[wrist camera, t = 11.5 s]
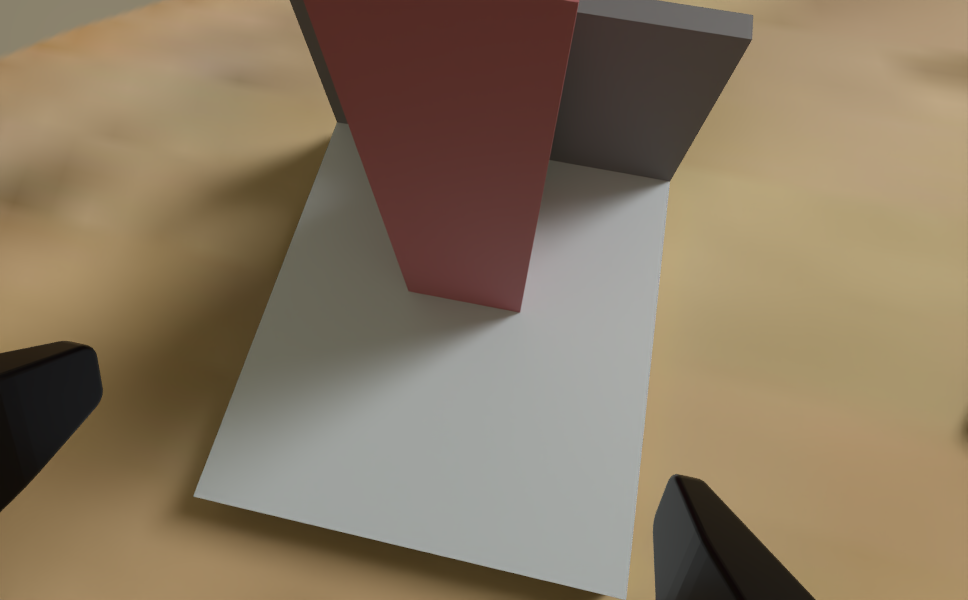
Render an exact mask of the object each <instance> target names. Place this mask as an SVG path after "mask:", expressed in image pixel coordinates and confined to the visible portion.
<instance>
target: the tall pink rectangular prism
mask: <svg viewBox="0 0 968 600" xmlns="http://www.w3.org/2000/svg"><path fill="white" fill-rule="evenodd" d="M303 1H304V4H305V6H306V9H307V12H308V15H309V17H310V20H311V23H312V26H313V28H314V31H315V34H316V37H317V40H318V42H319V45H320V48H321V51H322V53H323V56H324V59H325V62H326V64H327V67H328V70H329V73H330V75H331V78H332V81H333V84H334V87H335V89H336V92H337V95H338V98H339V100H340V103H341V106H342V109H343V111H344V114H345V117H346V120H347V122H348V125H349V128H350V131H351V134H352V136H353V139H354V142H355V145H356V147H357V150H358V153H359V156H360V158H361V161H362V164H363V167H364V170H365V172H366V175H367V178H368V181H369V183H370V186H371V189H372V192H373V194H374V197H375V200H376V203H377V205H378V208H379V211H380V214H381V217H382V219H383V222H384V225H385V228H386V230H387V233H388V236H389V239H390V241H391V244H392V247H393V250H394V252H395V255H396V258H397V261H398V264H399V266H400V269H401V272H402V275H403V277H404V280H405V283H406V286H407V288H408V291H410V292H415V293H420V294H425V295H431V296H436V297H441V298H446V299H451V300H457V301H462V302H467V303H472V304H478V305H483V306H488V307H493V308H499V309H504V310H509V311H514V312H519V313H520V310H521V305H522V300H523V295H524V289H525V284H526V279H527V274H528V268H529V263H530V258H531V253H532V247H533V242H534V237H535V232H536V227H537V221H538V216H539V211H540V206H541V200H542V195H543V190H544V185H545V179H546V174H547V169H548V163H549V158H550V153H551V148H552V142H553V137H554V132H555V126H556V121H557V116H558V111H559V105H560V100H561V95H562V89H563V84H564V79H565V74H566V68H567V63H568V58H569V52H570V47H571V42H572V37H573V31H574V26H575V21H576V15H577V10H578V5H579V0H303Z"/></svg>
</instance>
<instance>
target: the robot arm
mask: <svg viewBox="0 0 968 600" xmlns="http://www.w3.org/2000/svg"><path fill="white" fill-rule="evenodd" d="M102 393H103V387H102V381H101V376H100V370H99V364H98V359H97V354H96V352H95V351H94V349H93V348H92V347H90V346H88V345H84V344H79V343H75V342H70V341H59V342H54V343H49V344H44V345H39V346H34V347H30V348H25V349H20V350H15V351H10V352H5V353H0V512H1V511H2V510H3V509H4V508H5V507H6V506H7V505H8V504H9V503H10V502H11V501H12V500H13V499H14V498H15V497H16V496H17V495H18V494H19V493H20V492H21V491H22V490H23V489H24V488H25V487H26V486H27V485H28V484H29V483H30V482H31V481H32V480H33V479H34V477H35V476H36V475H37V474H38V473H39V472H40V471H41V470H42V468H43V467H44V466H45V465H46V464H47V463H48V462H49V460H50V459H51V458H52V457H53V456H54V455H55V454H56V452H57V451H58V450H59V449H60V448H61V447H62V446H63V444H64V443H65V442H66V441H67V440H68V439H69V438H70V436H71V435H72V434H73V433H74V432H75V431H76V430H77V428H78V427H79V426H80V425H81V424H82V423H83V422H84V420H85V419H86V418H87V417H88V416H89V415H90V414H91V412H92V411H93V410H94V409H95V408H96V407H97V405H98V404H99V402H100V400H101V397H102ZM653 544H654V568H655V592H656V600H815V599H814V597H813V596H812V595H811V594H810V593H809V592H808V591H807V590H806V589H805V588H804V587H803V586H802V585H801V584H800V583H799V582H798V580H797V579H796V578H795V577H794V576H793V575H792V574H791V573H790V572H789V571H788V570H787V569H786V568H785V567H784V566H783V565H782V564H781V562H780V561H779V560H778V559H777V558H776V557H775V556H774V555H773V554H772V553H771V552H770V551H769V550H768V549H767V548H766V547H765V546H764V544H763V543H762V542H761V541H760V540H759V539H758V538H757V537H756V536H755V535H754V534H753V533H752V532H751V531H750V530H749V529H748V527H747V526H746V525H745V524H744V523H743V522H742V521H741V520H740V519H739V518H738V517H737V516H736V515H735V514H734V513H733V512H732V511H731V509H730V508H729V507H728V506H727V505H726V504H725V503H724V502H723V501H722V500H721V499H720V498H719V497H718V496H717V495H716V494H715V493H714V491H713V490H712V489H711V488H710V487H709V486H708V485H707V484H706V483H705V482H704V481H702V480H700V479H697V478H693V477H688V476H684V475H679V474H675V475H673V476H671V478H670V479H669V481H668V483H667V485H666V488H665V491H664V493H663V496H662V499H661V501H660V504H659V506H658V509H657V512H656V514H655V518H654V524H653Z"/></svg>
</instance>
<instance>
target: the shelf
mask: <svg viewBox="0 0 968 600" xmlns="http://www.w3.org/2000/svg"><path fill="white" fill-rule="evenodd" d="M290 2H291V5H292V7H293V10H294V12H295V15H296V18H297V20H298V23H299V25H300V28H301V30H302V33H303V36H304V38H305V41H306V43H307V46H308V48H309V51H310V54H311V56H312V59H313V61H314V64H315V66H316V69H317V72H318V74H319V77H320V79H321V82H322V84H323V87H324V90H325V92H326V95H327V97H328V100H329V102H330V105H331V108H332V110H333V113H334V115H335V118H336V121H337V124H336V127H335V129H334V132H333V134H332V137H331V140H330V142H329V145H328V147H327V150H326V153H325V155H324V158H323V160H322V163H321V166H320V168H319V171H318V173H317V176H316V179H315V181H314V184H313V186H312V189H311V192H310V194H309V197H308V199H307V202H306V205H305V207H304V210H303V212H302V215H301V218H300V220H299V223H298V225H297V228H296V230H295V233H294V236H293V238H292V241H291V243H290V246H289V249H288V251H287V254H286V256H285V259H284V262H283V264H282V267H281V269H280V272H279V275H278V277H277V280H276V282H275V285H274V288H273V290H272V293H271V295H270V298H269V301H268V303H267V306H266V308H265V311H264V314H263V316H262V319H261V321H260V324H259V327H258V329H257V332H256V334H255V337H254V340H253V342H252V345H251V347H250V350H249V353H248V355H247V358H246V360H245V363H244V366H243V368H242V371H241V373H240V376H239V379H238V381H237V384H236V386H235V389H234V392H233V394H232V397H231V399H230V402H229V405H228V407H227V410H226V412H225V415H224V418H223V420H222V423H221V425H220V428H219V431H218V433H217V436H216V438H215V441H214V444H213V446H212V449H211V451H210V454H209V457H208V459H207V462H206V464H205V467H204V470H203V472H202V475H201V477H200V480H199V483H198V485H197V488H196V490H195V493H194V496H193V497H197V498H201V499H206V500H210V501H214V502H218V503H222V504H227V505H231V506H235V507H239V508H243V509H247V510H252V511H256V512H260V513H264V514H268V515H273V516H277V517H281V518H285V519H289V520H293V521H298V522H302V523H306V524H310V525H314V526H319V527H323V528H327V529H331V530H335V531H339V532H344V533H348V534H352V535H356V536H360V537H365V538H369V539H373V540H377V541H381V542H385V543H390V544H394V545H398V546H402V547H406V548H411V549H415V550H419V551H423V552H427V553H432V554H436V555H440V556H444V557H448V558H452V559H457V560H461V561H465V562H469V563H473V564H478V565H482V566H486V567H490V568H494V569H498V570H503V571H507V572H511V573H515V574H519V575H524V576H528V577H532V578H536V579H540V580H544V581H549V582H553V583H557V584H561V585H565V586H570V587H574V588H578V589H582V590H586V591H590V592H595V593H599V594H603V595H607V596H611V597H616V598H620V599H624V600H626V596H627V586H628V576H629V567H630V557H631V548H632V538H633V529H634V519H635V510H636V500H637V490H638V481H639V471H640V462H641V452H642V443H643V433H644V424H645V414H646V404H647V395H648V385H649V376H650V366H651V357H652V347H653V337H654V328H655V318H656V309H657V299H658V290H659V280H660V271H661V261H662V251H663V242H664V232H665V223H666V213H667V204H668V194H669V185H670V180H671V179H672V177H673V175H674V173H675V172H676V170H677V168H678V166H679V165H680V163H681V161H682V160H683V158H684V156H685V154H686V153H687V151H688V149H689V147H690V146H691V144H692V142H693V141H694V139H695V137H696V135H697V134H698V132H699V130H700V128H701V127H702V125H703V123H704V122H705V120H706V118H707V116H708V115H709V113H710V111H711V109H712V108H713V106H714V104H715V103H716V101H717V99H718V97H719V96H720V94H721V92H722V90H723V89H724V87H725V85H726V84H727V82H728V80H729V78H730V77H731V75H732V73H733V71H734V70H735V68H736V66H737V65H738V63H739V61H740V59H741V58H742V56H743V54H744V52H745V51H746V49H747V47H748V46H749V44H750V42H751V40H752V29H753V15H749V14H743V13H736V12H729V11H723V10H716V9H710V8H703V7H697V6H690V5H684V4H677V3H670V2H664V1H657V0H579V5H578V10H577V15H576V21H575V26H574V31H573V37H572V42H571V47H570V52H569V58H568V63H567V68H566V74H565V79H564V84H563V89H562V95H561V100H560V105H559V111H558V116H557V121H556V126H555V132H554V137H553V142H552V148H551V153H550V158H549V163H548V169H547V174H546V179H545V185H544V190H543V195H542V200H541V206H540V211H539V216H538V221H537V227H536V232H535V237H534V242H533V247H532V253H531V258H530V263H529V268H528V274H527V279H526V284H525V289H524V295H523V300H522V305H521V310H520V313H519V312H514V311H509V310H504V309H499V308H493V307H488V306H483V305H478V304H472V303H467V302H462V301H457V300H451V299H446V298H441V297H436V296H431V295H425V294H420V293H415V292H410V291H408V288H407V286H406V283H405V280H404V277H403V275H402V272H401V269H400V266H399V264H398V261H397V258H396V255H395V252H394V250H393V247H392V244H391V241H390V239H389V236H388V233H387V230H386V228H385V225H384V222H383V219H382V217H381V214H380V211H379V208H378V205H377V203H376V200H375V197H374V194H373V192H372V189H371V186H370V183H369V181H368V178H367V175H366V172H365V170H364V167H363V164H362V161H361V158H360V156H359V153H358V150H357V147H356V145H355V142H354V139H353V136H352V134H351V131H350V128H349V125H348V122H347V120H346V117H345V114H344V111H343V109H342V106H341V103H340V100H339V98H338V95H337V92H336V89H335V87H334V84H333V81H332V78H331V75H330V73H329V70H328V67H327V64H326V62H325V59H324V56H323V53H322V51H321V48H320V45H319V42H318V40H317V37H316V34H315V31H314V28H313V26H312V23H311V20H310V17H309V15H308V12H307V9H306V6H305V4H304V1H303V0H290Z"/></svg>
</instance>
